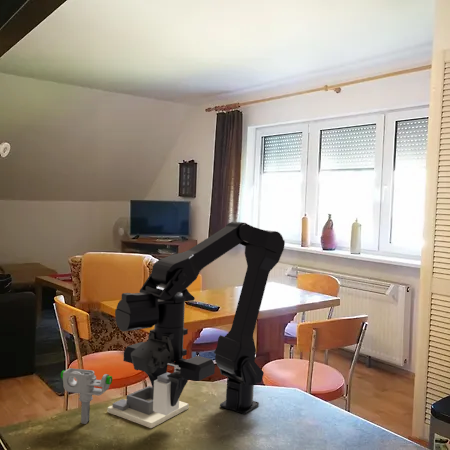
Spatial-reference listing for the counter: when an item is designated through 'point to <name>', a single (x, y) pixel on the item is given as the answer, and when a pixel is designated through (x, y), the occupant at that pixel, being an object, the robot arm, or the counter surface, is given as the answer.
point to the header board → (142, 408)
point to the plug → (163, 395)
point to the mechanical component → (85, 387)
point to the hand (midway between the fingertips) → (166, 403)
